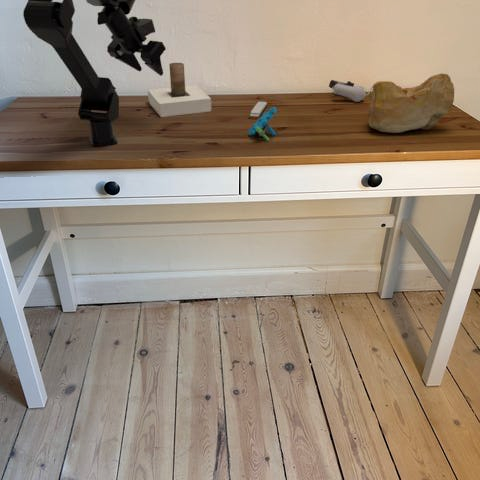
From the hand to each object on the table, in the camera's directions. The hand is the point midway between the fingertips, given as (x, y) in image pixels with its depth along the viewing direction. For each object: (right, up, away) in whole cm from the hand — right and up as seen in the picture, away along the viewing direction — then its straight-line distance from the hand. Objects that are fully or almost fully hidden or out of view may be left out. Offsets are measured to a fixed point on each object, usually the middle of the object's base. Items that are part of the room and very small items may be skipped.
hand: (151, 72), depth 135 cm
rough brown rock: (+72, -15, +1) cm, 74 cm away
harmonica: (+31, -9, +11) cm, 34 cm away
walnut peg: (+6, -6, +14) cm, 16 cm away
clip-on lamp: (+65, -1, +23) cm, 69 cm away
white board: (+6, -6, +14) cm, 17 cm away
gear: (+32, -20, -7) cm, 38 cm away
